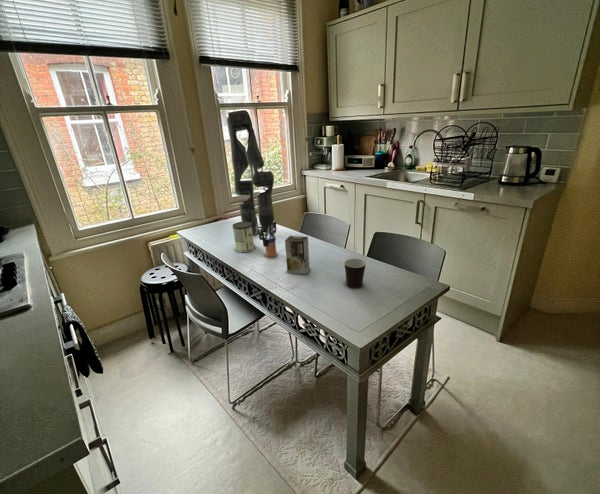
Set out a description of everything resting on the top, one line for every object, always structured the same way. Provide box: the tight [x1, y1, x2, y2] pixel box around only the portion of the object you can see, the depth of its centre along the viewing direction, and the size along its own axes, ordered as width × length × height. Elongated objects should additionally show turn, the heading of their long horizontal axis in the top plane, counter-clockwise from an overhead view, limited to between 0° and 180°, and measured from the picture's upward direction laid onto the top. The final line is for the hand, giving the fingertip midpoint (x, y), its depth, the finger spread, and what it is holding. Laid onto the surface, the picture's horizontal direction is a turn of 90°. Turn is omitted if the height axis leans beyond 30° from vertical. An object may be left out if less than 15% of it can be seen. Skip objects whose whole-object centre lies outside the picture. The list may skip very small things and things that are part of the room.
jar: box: [264, 240, 278, 258], centre depth 162 cm, size 5×5×10 cm
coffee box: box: [284, 235, 310, 275], centre depth 143 cm, size 9×6×16 cm
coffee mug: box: [343, 258, 366, 289], centre depth 132 cm, size 12×9×10 cm
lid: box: [267, 234, 276, 243], centre depth 160 cm, size 6×6×2 cm
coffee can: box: [232, 221, 255, 253], centre depth 172 cm, size 10×10×14 cm
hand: (268, 244), depth 162 cm, fingers closed on lid, 5 cm apart
